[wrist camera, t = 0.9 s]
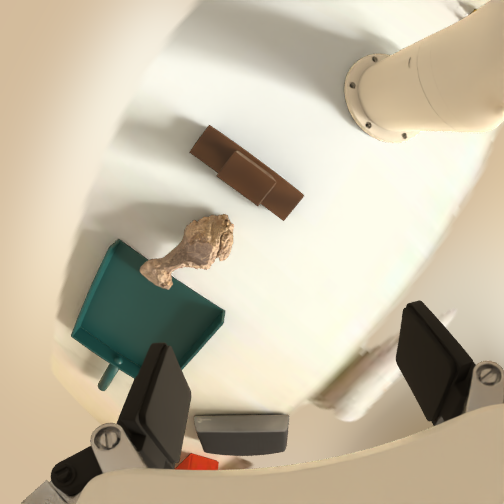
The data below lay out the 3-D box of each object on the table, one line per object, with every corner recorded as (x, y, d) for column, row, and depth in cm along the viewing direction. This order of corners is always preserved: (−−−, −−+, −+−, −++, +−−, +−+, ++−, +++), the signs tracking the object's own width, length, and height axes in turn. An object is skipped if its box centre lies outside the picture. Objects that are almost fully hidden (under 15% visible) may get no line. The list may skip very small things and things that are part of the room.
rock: (136, 257, 39) (117, 278, 32) (220, 201, 36) (214, 214, 30) (160, 289, 41) (146, 315, 34) (244, 239, 38) (244, 259, 32)
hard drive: (193, 412, 51) (190, 427, 47) (289, 411, 51) (291, 426, 47) (203, 442, 56) (201, 456, 52) (286, 442, 56) (288, 455, 52)
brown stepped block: (211, 126, 33) (199, 120, 25) (301, 192, 36) (315, 206, 28) (192, 151, 34) (175, 154, 26) (281, 216, 37) (290, 236, 29)
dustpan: (118, 238, 38) (109, 246, 35) (225, 311, 42) (223, 323, 39) (66, 357, 47) (60, 367, 44) (142, 405, 51) (139, 416, 48)
